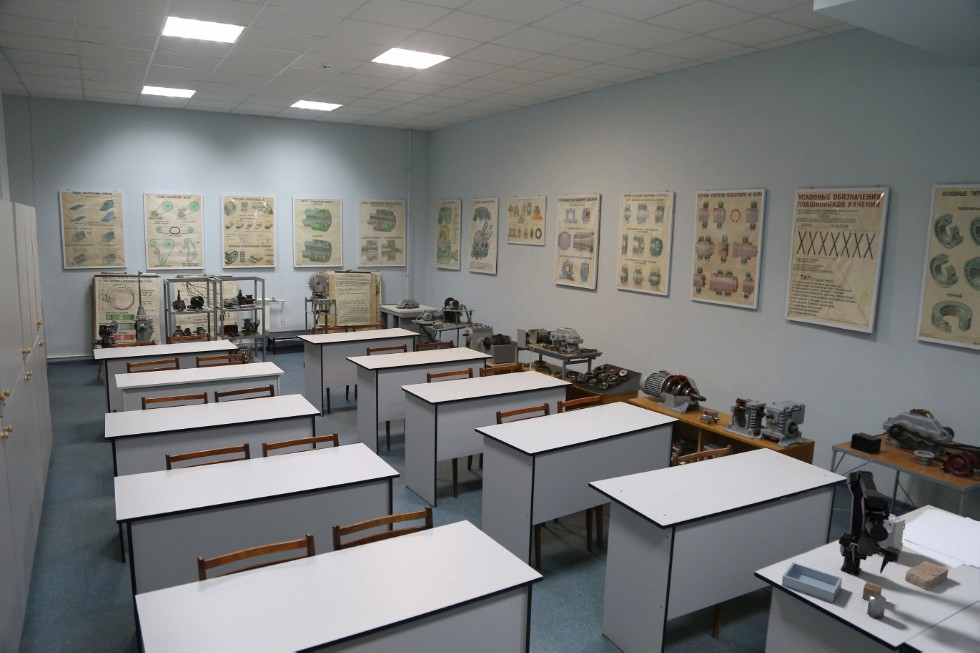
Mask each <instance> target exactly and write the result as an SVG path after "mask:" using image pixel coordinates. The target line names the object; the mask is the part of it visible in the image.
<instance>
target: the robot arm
mask: <svg viewBox="0 0 980 653" xmlns="http://www.w3.org/2000/svg"><path fill="white" fill-rule="evenodd" d="M846 484H847V489H848V490H849V492H850V494H851V504H850V515H849V516H850V518H849V531H848V532H842V534H841V535H840V536H839V538H838V544H839V545H840V547H839V553H840V554H841V557H842V558H843V564H842V566H841V567H840V571H842V572H844V573H847V572H848V574H851V575H853V576H860V574H861V572H862V568H861V560H862V561H867V559H868V557H869V558H871V557H873V556H874V555H878V556H879V555H880V553H881V554H882V553H883V554H882V555H884V554H885V555H884V556H883V558H882V563H881V566H880V570H879V574H882V573H883V571H884V569H885V568H886V566H887V565H888V564H889V563H893V562H895V563H897V562H898V561H899V559H900V557H901V553H900V550H899V549H897V548H894V547H891V546H888V547H887V549H885V548H882V547H881V546H880V545H879V542H881V541H884V540H886V539H887V538H888V531H887V529H886V527H885V526H884V523H883V520H889V516H890V514H891V512H890V504H889V501H888V500H887V499H886V497H885V495H884V494H883V493H881V492H880V491H878V488H877V486H876V484H875V480H874V474H873V472H872V471H869V470H861V469H859V470H856V471H853V472H849V473H848V474H847V475H846Z"/></svg>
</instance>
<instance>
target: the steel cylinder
mask: <svg viewBox="0 0 980 653" xmlns="http://www.w3.org/2000/svg"><path fill="white" fill-rule="evenodd" d="M886 602H887V599H886V597H885V596H884V595H882V594H881V595H879V594H875V593H871V594H870V595H869V602H868V604H867V611H866V614H867V616H868V615H869V617H870V618H871V619H873V620H879V621H882V620H884V619H885V618H884V617H885V611H886V610H885V609H886V604H887V603H886Z"/></svg>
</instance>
